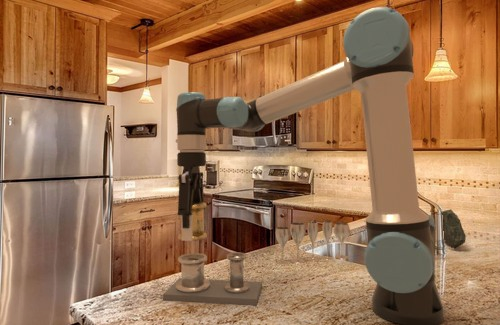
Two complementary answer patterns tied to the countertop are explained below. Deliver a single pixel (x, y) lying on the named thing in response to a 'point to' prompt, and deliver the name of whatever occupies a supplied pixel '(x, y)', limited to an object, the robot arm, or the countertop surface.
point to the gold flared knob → (196, 221)
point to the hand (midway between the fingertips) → (192, 236)
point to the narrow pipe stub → (236, 274)
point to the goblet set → (311, 237)
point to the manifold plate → (217, 294)
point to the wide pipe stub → (192, 273)
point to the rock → (452, 229)
